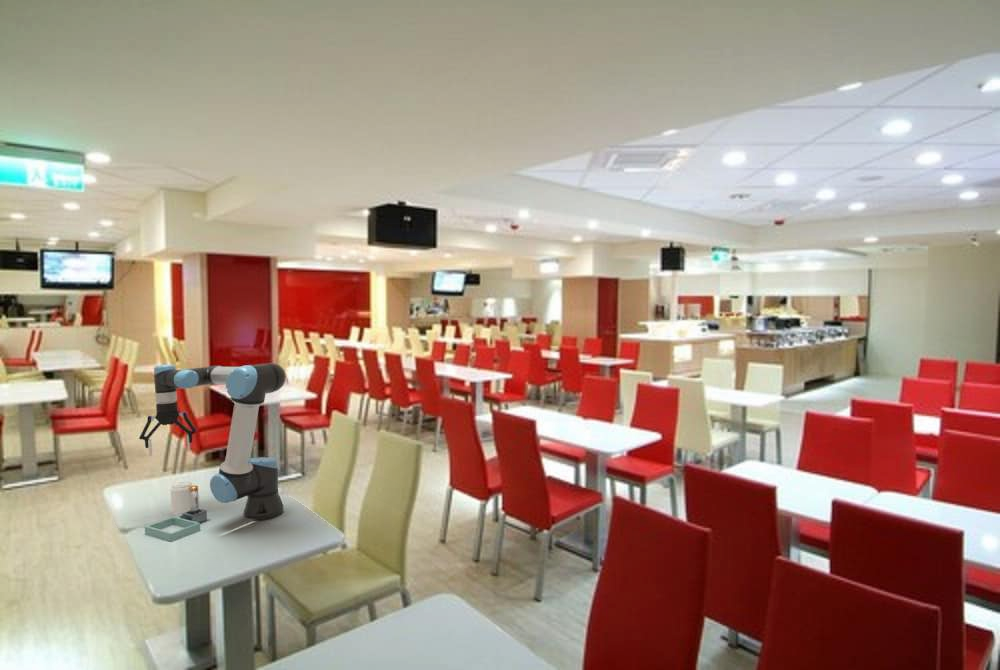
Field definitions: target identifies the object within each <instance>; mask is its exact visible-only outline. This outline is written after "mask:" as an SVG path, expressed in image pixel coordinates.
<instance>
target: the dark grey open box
mask: <svg viewBox="0 0 1000 670" xmlns="http://www.w3.org/2000/svg"><path fill="white" fill-rule="evenodd" d="M179 518H182V519H186V520H190V521H194V522H198V523H200V525H201V524H204V523H207V522H209V521H211V519H208V512H207V510H206V509H202V508H199V513H196V514H193V515H192V514H190V511H188V512H185V513H182V514H180V516H179Z"/></svg>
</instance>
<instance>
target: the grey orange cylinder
mask: <svg viewBox="0 0 1000 670" xmlns="http://www.w3.org/2000/svg"><path fill="white" fill-rule="evenodd" d="M199 497H200V496H199V486H198V485H193V486H190V487H189V504H190V514H192V515H193V514H196V513H199V509H200V499H199Z"/></svg>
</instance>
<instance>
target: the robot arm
mask: <svg viewBox="0 0 1000 670" xmlns="http://www.w3.org/2000/svg"><path fill="white" fill-rule="evenodd" d="M153 371H154V373H153V377H154V378H153V379H154V392H155V403H156V405H155V408H156V410H155V411H156V415H148V416H147V422H146V424H145V426H144V427H143V429H142V432H141V433H140V436H139V438H138V439H139V440H143V441H144V446H145V449H148V457H152V456H153V449H152V448H153V447H152V439H151V437H152V436H153V434H155V432H157V430H158V428H159V427H160V426H161V425H162V426H167V425H170V426H171V425H173V424H174V425H176V426H178V427H179V428H180V429H181V430H183V432H185V434H186V449H187V452H190V451H191V446H190V445H191V443H193V440H194V439H193V435H194V434H196V433H197V432H198V430H197V428H196V427H195V426H194V424H193V423H192V421H191V419H190V417H188V412H187V411H183V412H180V413H179V408H178V407H179V406H178V402H177V400H178V393H177V389H184V390H186V389H192V388H194V387H200V386H208V385H225V388H226V389H227V390H226V392H227V394H228V396H229V397H230V400H231V402H232V403H234V406H233V412H232V418H231V423H230V430H229V435H228V440H227V441H228V442H227V448H226V455H225V460H224V461H223V462H222V463H221V464H220V465H219V470H218V473H216V474H214V475H213V476H212V477H211V478H210V481H209V487H210V491H211V494H212V495H213V497H214V499H215V500H217V502H220V503H222V504H229V503H231V502H236V501H237V500H239V499H242V498H246V497H247V499H246V502H245V507H244V509H243V517H244V518H247V519H250V520H251V519H252V521H264V520H270V519H274V518H276V517H278V516H281V515H282V514H283V513H284V510H285V509H284V503H283V501H282V500H281V499H282V498H281V496H280V494H279V468H278V462H277V459H275V458H274V457H252V458H251V456H252V450H253V444H254V438H255V433H256V425H257V421H258V414H259V409H260V406H261V405H262V404H264V403H265V400H266V394H267V395H268V394H271V393H275V392H277V391H280V389H282V387H284V385H285V383H286V379H287V374H286V371H285V369H284V368H283V367H282V366H281V365H280V364H277V363H272V362H266V363H257V364H247V365H242V366H222V365H211V366H205V367H196V368H195V367H194V368H187V369H185V368H184V369H176V366H175V365H174V364H161V365H156V366H154V369H153ZM180 417H181V418H182V419H184V421H185V422H186V424H187V425H188V426H187V427H186V425H185V424H183V423H182V422H181V421H180V420H179V418H180ZM155 419H156V421H157V424H155V425H154V426H153V428H152V429H151V431H150V432H149V433H148V434H147V432H148V430H149V427H150V426H151V423H152V422H153V421H154V420H155ZM188 427H189V428H190V429H189V428H188ZM146 434H147V435H146Z"/></svg>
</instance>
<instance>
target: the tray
mask: <svg viewBox="0 0 1000 670" xmlns="http://www.w3.org/2000/svg"><path fill="white" fill-rule="evenodd" d="M171 526H178V527H181V529H178V530H176V531H173V532H171V531H168V530H163V529H166V528H168V527H171ZM200 531H201V524H200V523H198V522H194V521H190V520H186V519H182V518H180V517H178V516H171V517H169V518H168V517H167V518H165V519H163V520H160V521H157V522H154V523H151V524H149V525H145V526H144V535H147V536H150V537H154V538H157V539H161V540H163V541H164V540H165V541H167V542H175V541H177V540H180V539H182V538H185V537H187V536H190V535H193V534H195V533H197V532H200Z"/></svg>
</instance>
